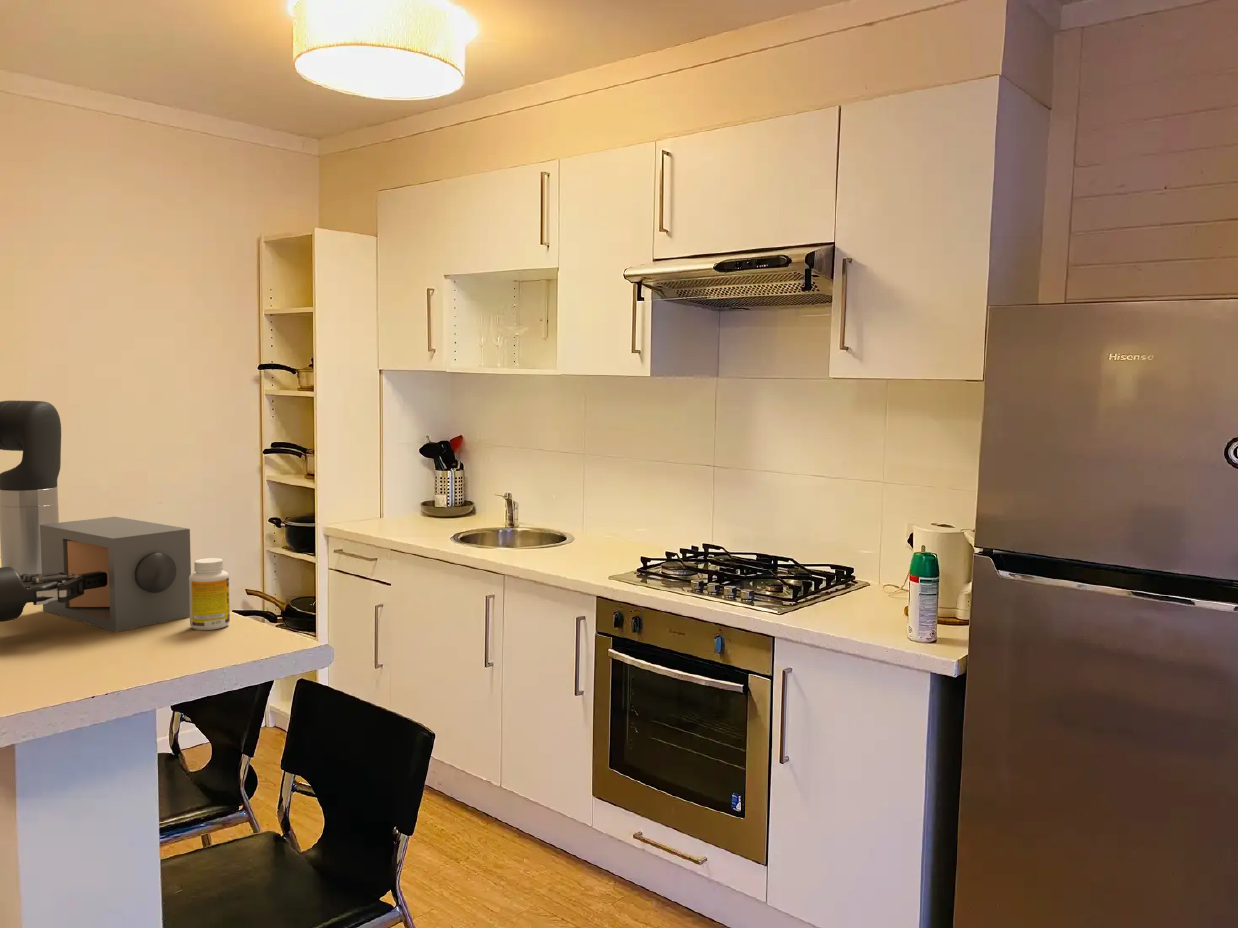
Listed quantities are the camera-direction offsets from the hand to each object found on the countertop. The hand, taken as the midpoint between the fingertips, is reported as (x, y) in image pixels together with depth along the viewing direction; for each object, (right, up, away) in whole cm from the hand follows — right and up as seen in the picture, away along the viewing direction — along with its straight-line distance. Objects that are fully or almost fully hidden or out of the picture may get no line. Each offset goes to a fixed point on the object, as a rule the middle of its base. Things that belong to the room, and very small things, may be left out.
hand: (104, 578), depth 141 cm
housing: (-2, -6, +7) cm, 10 cm away
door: (-1, -5, +4) cm, 7 cm away
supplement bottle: (+16, -8, 0) cm, 18 cm away
